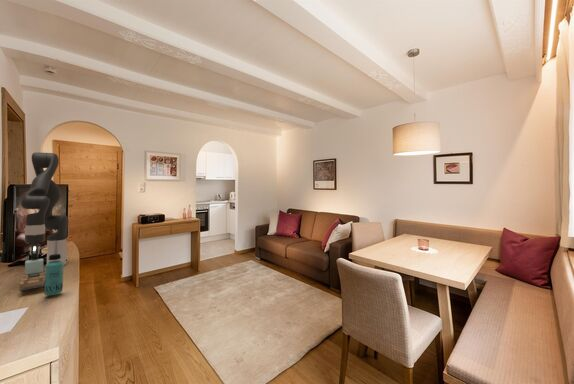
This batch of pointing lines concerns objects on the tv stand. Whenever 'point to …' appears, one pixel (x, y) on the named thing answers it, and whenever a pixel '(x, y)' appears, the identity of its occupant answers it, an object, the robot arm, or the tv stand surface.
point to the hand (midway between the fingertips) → (34, 265)
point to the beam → (32, 281)
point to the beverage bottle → (53, 276)
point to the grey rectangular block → (33, 267)
